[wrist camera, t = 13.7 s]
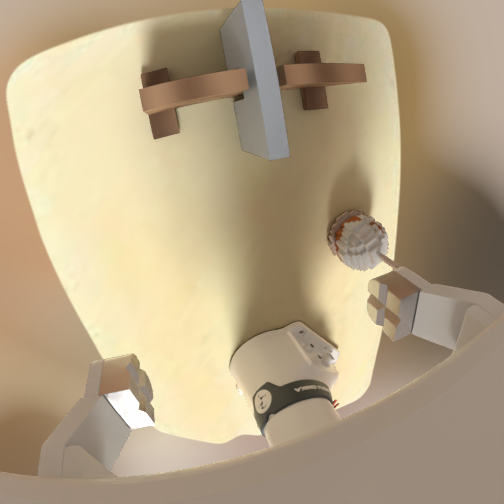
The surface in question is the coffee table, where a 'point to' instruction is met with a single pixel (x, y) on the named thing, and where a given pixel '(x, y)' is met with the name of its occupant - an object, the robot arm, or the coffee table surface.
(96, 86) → the coffee table surface
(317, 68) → the walnut crosspiece
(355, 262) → the decorative ornament
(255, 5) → the grey plate
